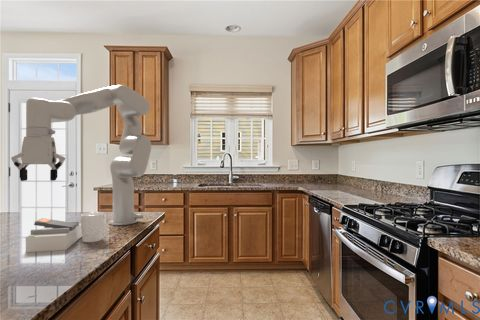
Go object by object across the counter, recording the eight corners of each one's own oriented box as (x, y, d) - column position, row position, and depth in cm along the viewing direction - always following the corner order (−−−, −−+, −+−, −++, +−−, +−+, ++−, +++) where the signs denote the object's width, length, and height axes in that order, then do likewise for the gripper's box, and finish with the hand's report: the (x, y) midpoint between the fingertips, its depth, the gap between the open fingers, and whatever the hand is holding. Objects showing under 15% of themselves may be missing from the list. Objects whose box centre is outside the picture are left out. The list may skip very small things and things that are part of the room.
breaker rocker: (76, 226, 111) (77, 222, 111) (71, 230, 106) (72, 226, 106) (41, 221, 109) (42, 217, 109) (34, 225, 103) (34, 221, 103)
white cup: (108, 238, 114) (108, 212, 114) (92, 243, 107) (92, 216, 107) (92, 236, 117) (92, 211, 117) (75, 241, 109) (75, 214, 109)
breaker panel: (82, 236, 117) (82, 219, 117) (66, 249, 100) (65, 230, 100) (48, 237, 115) (48, 221, 115) (25, 252, 97) (25, 232, 97)
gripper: (68, 134, 112) (68, 179, 112) (18, 133, 109) (18, 180, 109) (60, 132, 105) (60, 181, 105) (5, 131, 102) (5, 181, 102)
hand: (38, 180), depth 107 cm, fingers open, 9 cm apart
